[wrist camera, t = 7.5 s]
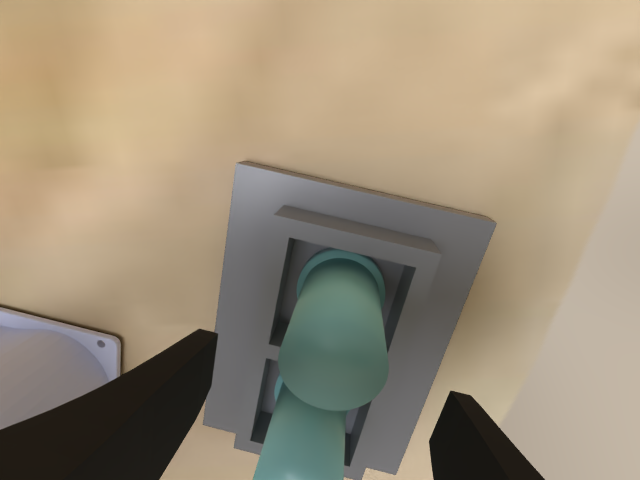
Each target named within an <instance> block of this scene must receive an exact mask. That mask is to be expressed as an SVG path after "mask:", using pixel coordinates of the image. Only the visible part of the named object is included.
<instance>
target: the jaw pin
mask: <svg viewBox="0 0 640 480" xmlns="http://www.w3.org/2000/svg"><path fill="white" fill-rule="evenodd" d="M296 291H297V299H298V300H297V303H296V306H295V309H294V311H293V314H292V317H291V320H290V323H289V325H288V328H287V331H286V334H285V336H284V339H283V342H282V345H281V348H280V351H279V355H278V366H279V371H280V374H281V377H282V379H283V381H284V383H285V385H286V386H287V387H288V389H289V390H290V391H291V392H292V393H293V394H294V395H295V396H297V397H298V398H299V399H301V400H302V401H304V402H305V403H307V404H309V405H311V406H314V407H317V408H320V409H324V410H331V411H344V410H351V409H354V408H358V407H360V406H363V405H365V404H366V403H368V402H370V401H371V400H373V399H374V398H375V397H376V396H377V395H378V394H379V393H380V392H381V390H382V389H383V387H384V385H385V383H386V381H387V378H388V373H389V363H388V355H387V348H386V341H385V333H384V326H383V318H382V311H381V310H382V308H383V305H384V301H385V285H384V279H383V275H382V273H381V270H380V268H379V267H378V265H377V264H376V262H375V261H374V260H373V259H372V258H371V257H370V256H365V255H361V254H357V253H353V252H348V251H344V250H340V249H336V248H332V247H329V248H326V249H323V250H321V251H319V252H317V253H316V254H314V255H313V256H312V257H311V258H310V259H309V260H308V261H307V262H306V264H305V265H304V267H303V269H302V271H301V274H300V276H299V279H298V282H297V290H296Z"/></svg>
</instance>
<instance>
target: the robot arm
mask: <svg viewBox="0 0 640 480" xmlns="http://www.w3.org/2000/svg"><path fill="white" fill-rule="evenodd" d="M217 340H218V333H214V332H210V331H206V330H202V329H198V330H196V331H195V332H193V333H191V334H190V335H188V336H187V337H185V338H183V339H182V340H180V341H179V342H177V343H175V344H174V345H172V346H171V347H169V348H167V349H166V350H164V351H163V352H161V353H159V354H158V355H156V356H154V357H153V358H151V359H149V360H147V361H146V362H144V363H142V364H141V365H139V366H137V367H136V368H134V369H132V370H130V371H128V372H127V373H125V374H123V375H121V376H120V359H121V343H120V340H119V339H118V338H117V337H115V336H112V335H108V334H104V333H100V332H96V331H92V330H88V329H85V328H81V327H77V326H73V325H69V324H65V323H61V322H57V321H53V320H49V319H45V318H41V317H37V316H33V315H29V314H25V313H21V312H17V311H13V310H9V309H6V308H2V307H0V480H159V479H160V477H161V476H162V474H163V472H164V471H165V469H166V468H167V466H168V464H169V463H170V461H171V459H172V458H173V456H174V455H175V453H176V451H177V450H178V448H179V446H180V445H181V443H182V441H183V440H184V438H185V437H186V435H187V433H188V432H189V430H190V428H191V427H192V425H193V423H194V422H195V420H196V418H197V416H198V414H199V412H200V410H201V408H202V406H203V404H204V401H205V399H206V397H207V395H208V393H209V391H210V388H211V386H212V378H213V370H214V363H215V355H216V348H217ZM429 445H430V454H431V463H432V471H433V479H434V480H545V479H544V478H543V477H542V476H541V475H540V474H539V473H538V471H537V470H536V469H535V468H534V467H533V466H532V465H531V464H530V463H529V461H528V460H527V459H526V458H525V457H524V456H523V455H522V453H521V452H520V451H519V450H518V449H517V448H516V447H515V445H514V444H513V443H512V442H511V441H510V440H509V438H508V437H507V436H506V435H505V434H504V433H503V432H502V431H501V429H500V428H499V427H498V426H497V424H496V423H495V422H494V421H493V420H492V419H491V418H490V416H489V415H488V414H487V413H486V412H485V411H484V409H483V408H482V407H481V406H480V405H479V404H478V403H477V402H476V401H475V400H474V398H473V397H472V396H470V395H466V394H462V393H458V392H454V391H450V393H449V395H448V398H447V400H446V402H445V405H444V407H443V410H442V412H441V414H440V417H439V419H438V421H437V424H436V426H435V428H434V431H433V433H432V435H431V438H430V440H429Z"/></svg>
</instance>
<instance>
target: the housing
mask: <svg viewBox="0 0 640 480" xmlns="http://www.w3.org/2000/svg"><path fill="white" fill-rule="evenodd" d="M496 224H497V223H496V222H494V221H493V220H491V219H490V218H488V217H486V216H482V215H477V214H473V213H469V212H464V211H460V210H455V209H451V208H447V207H442V206H438V205H434V204H429V203H425V202H421V201H416V200H412V199H408V198H403V197H399V196H395V195H390V194H386V193H382V192H377V191H373V190H369V189H364V188H360V187H355V186H351V185H347V184H342V183H338V182H334V181H329V180H325V179H321V178H316V177H312V176H308V175H303V174H299V173H295V172H290V171H286V170H282V169H277V168H273V167H269V166H264V165H260V164H255V163H251V162H247V161H242V162H238V163H236V167H235V175H234V183H233V191H232V199H231V207H230V215H229V223H228V231H227V238H226V246H225V254H224V262H223V270H222V278H221V286H220V294H219V302H218V310H217V318H216V325H215V333H218V340H217V348H216V355H215V363H214V370H213V378H212V386H211V388H210V391H209V393H208V395H207V397H206V404H205V412H204V420H203V425H205V426H209V427H213V428H217V429H221V430H225V431H228V432H232V433H236V437H235V443H234V448H236V449H239V450H243V451H247V452H251V453H255V454H259V455H260V454H261V451H262V447H263V444H264V441H265V437H266V434H267V431H268V428H269V424H270V421H271V418H272V414H273V411H274V408H275V404H276V400H275V396H274V390H275V385H276V382H277V379H278V376H279V373H280V371H279V366H278V355H279V351H280V348H281V345H282V342H283V339H284V336H285V334H286V331H287V328H288V325H289V323H290V320H291V317H292V314H293V311H294V309H295V306H296V303H297V300H298V299H297V291H296V290H297V282H298V279H299V276H300V274H301V271H302V269H303V267H304V265H305V264H306V262H307V261H308V260H309V259H310V258H311V257H312V256H313V255H314V254H316V253H317V252H319V251H321V250H323V249H326V248H329V247H332V248H336V249H340V250H344V251H348V252H353V253H357V254H361V255H365V256H370V257H371V258H372V259H373V260H374V261H375V262H376V264H377V265H378V267H379V268H380V270H381V273H382V275H383V279H384V285H385V301H384V305H383V308H382V310H381V311H382V318H383V326H384V333H385V341H386V348H387V355H388V363H389V373H388V378H387V381H386V383H385V385H384V387H383V389H382V390H381V392H380V393H379V394H378V395H377V396H376V397H375V398H374V399H373V400H371V401H370V402H368V403H366V404H365V405H363V406H360V407H358V408H354V409H351V410H350V411H349V413H348V414H347V415H346V428H345V453H344V477H346V478H350V479H354V480H362V477H363V474H364V472H365V469H366V467H367V468H370V469H374V470H378V471H382V472H386V473H390V474H393V475H396V473H397V471H398V468H399V466H400V463H401V461H402V458H403V456H404V453H405V451H406V448H407V446H408V443H409V441H410V438H411V436H412V433H413V431H414V428H415V426H416V423H417V421H418V418H419V416H420V413H421V411H422V408H423V406H424V403H425V401H426V399H427V396H428V394H429V391H430V389H431V386H432V384H433V381H434V379H435V376H436V374H437V371H438V369H439V366H440V364H441V361H442V359H443V356H444V354H445V351H446V349H447V346H448V344H449V341H450V339H451V336H452V334H453V331H454V329H455V326H456V324H457V321H458V319H459V316H460V314H461V311H462V309H463V306H464V304H465V301H466V299H467V296H468V294H469V291H470V289H471V286H472V284H473V281H474V279H475V276H476V274H477V271H478V269H479V266H480V264H481V261H482V259H483V256H484V254H485V251H486V249H487V247H488V244H489V242H490V239H491V237H492V234H493V232H494V229H495V227H496Z"/></svg>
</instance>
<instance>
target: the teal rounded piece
mask: <svg viewBox="0 0 640 480" xmlns="http://www.w3.org/2000/svg"><path fill="white" fill-rule="evenodd" d="M274 396H275V400H276V404H275V408H274V411H273V414H272V418H271V421H270V424H269V428H268V431H267V434H266V437H265V441H264V444H263V447H262V451H261V454H260V457H259V461H258V464H257V467H256V471H255V474H254V477H253V480H343V478H344V453H345V428H346V415H347V414H348V413H349V411H350V410H344V411H331V410H324V409H320V408H317V407H314V406H311V405H309V404H307V403H305V402H304V401H302V400H301V399H299V398H298V397H297V396H295V395H294V394H293V393H292V392H291V391H290V390H289V389H288V387H287V386H286V385H285V383H284V381H283V379H282V377H281V374H280V373H279V376H278V379H277V382H276V385H275V390H274Z"/></svg>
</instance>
